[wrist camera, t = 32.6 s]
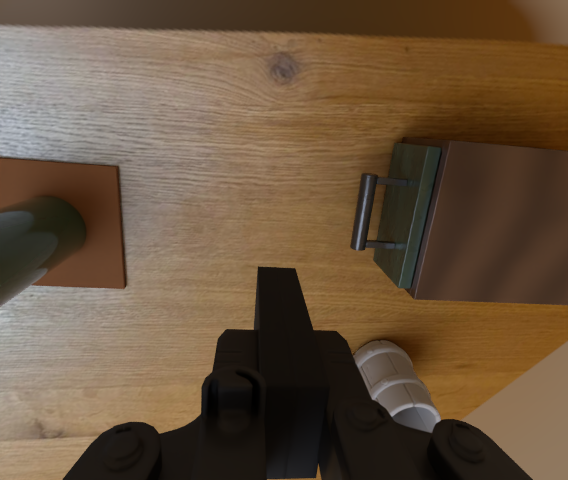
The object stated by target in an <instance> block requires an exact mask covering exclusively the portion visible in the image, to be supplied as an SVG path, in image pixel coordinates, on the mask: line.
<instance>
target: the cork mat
mask: <svg viewBox="0 0 568 480" xmlns="http://www.w3.org/2000/svg"><path fill="white" fill-rule="evenodd" d="M43 195H46V196H54V197H57V198H60V199H63V200H65V201H66V202H68V203H70V204H71V205H72V206H73V207H75V208H76V210H77V211H78V212H79V213H80V214H81V216H82V218H83V220H84V222H85V225H86V231H87V232H86V240H85V243H84V245H83V247H82V248H81V249H80V250H79V251H78V252H77V253H76V254H74V255H73V256H71V257H70V258H69V259H67V260H66V261H64V262H63V263H62V264H60V265H59V266H57V267H56V268H55V269H53V270H52V271H50V272H49V273H47V274H46V275H45V276H43V277H42V278H40V279H39V280H38V281H36V282H35V283H33V284H32V285H36V286H62V287H89V288H116V289H124V288H125V287H126V282H125V267H124V252H123V237H122V221H121V206H120V191H119V176H118V167H117V166H105V165H91V164H78V163H65V162H51V161H38V160H24V159H11V158H0V208H1V207H4V206H7V205H10V204H14V203H17V202H20V201H23V200H26V199H29V198H32V197H36V196H43Z"/></svg>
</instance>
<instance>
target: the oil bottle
mask: <svg viewBox="0 0 568 480" xmlns="http://www.w3.org/2000/svg"><path fill="white" fill-rule="evenodd" d="M86 232H87V231H86V225H85V222H84V220H83V218H82V216H81V214H80V213H79V212H78V211H77V210H76V208H75V207H73V206H72V205H71V204H70V203H68V202H66V201H65V200H63V199H60V198H57V197H54V196H46V195H43V196H36V197H32V198H29V199H26V200H23V201H20V202H17V203H14V204H10V205H7V206H4V207H1V208H0V307H1V306H2V305H4V304H5V303H7V302H8V301H9V300H11V299H12V298H14V297H15V296H16V295H18V294H19V293H21V292H22V291H23V290H25V289H26V288H28V287H29V286H31V285H32V284H33V283H35V282H36V281H38V280H39V279H40V278H42V277H43V276H45V275H46V274H47V273H49V272H50V271H52V270H53V269H55V268H56V267H57V266H59V265H60V264H62V263H63V262H64V261H66V260H67V259H69V258H70V257H71V256H73V255H74V254H76V253H77V252H78V251H79V250H80V249H81V248H82V247H83V245H84V243H85V240H86Z"/></svg>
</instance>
